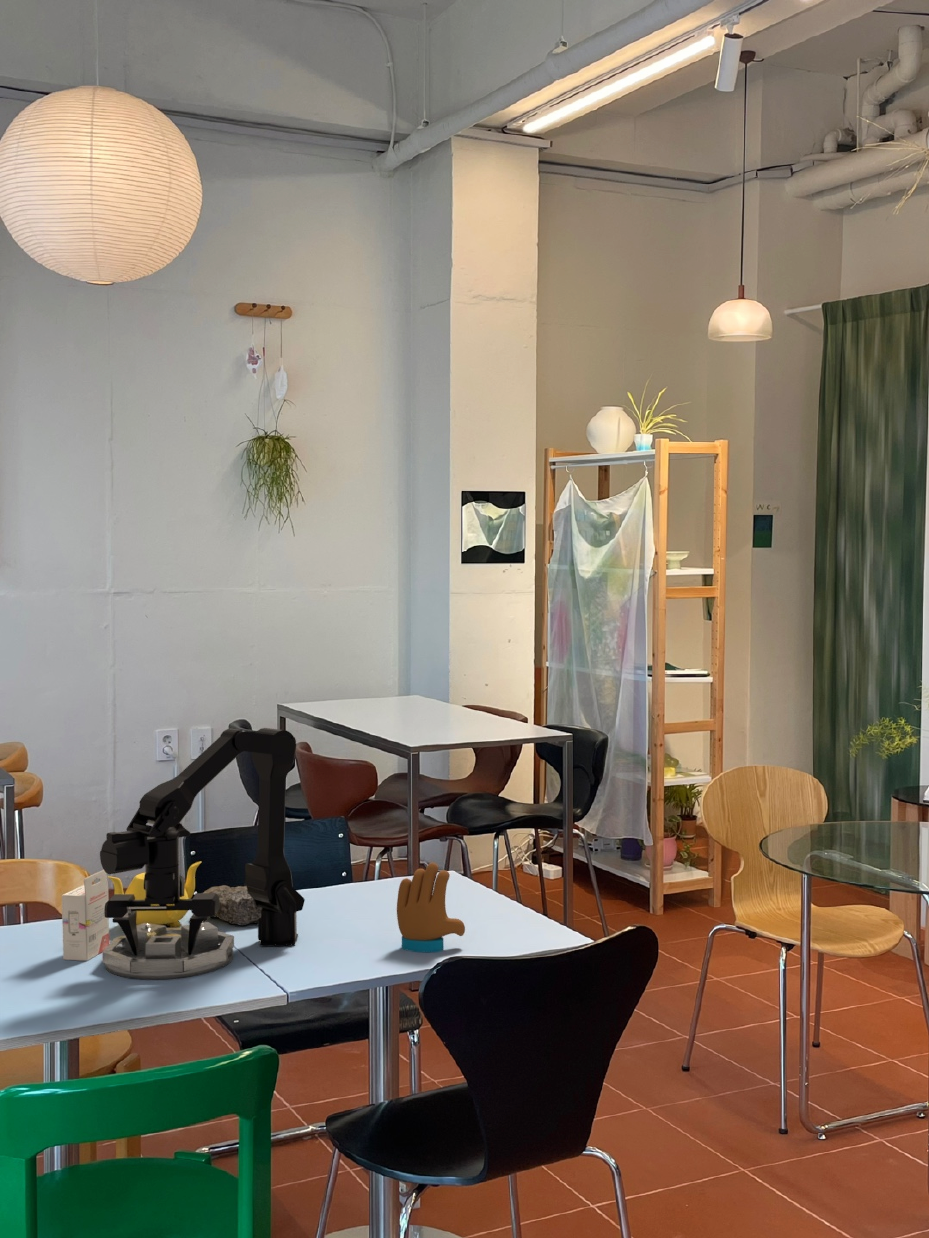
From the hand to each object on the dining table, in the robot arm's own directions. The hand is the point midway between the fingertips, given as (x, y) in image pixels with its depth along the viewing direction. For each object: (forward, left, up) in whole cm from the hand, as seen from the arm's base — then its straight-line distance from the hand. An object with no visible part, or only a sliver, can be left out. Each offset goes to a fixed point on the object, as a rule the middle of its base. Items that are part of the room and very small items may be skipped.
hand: (163, 954), depth 216 cm
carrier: (0, -5, -3) cm, 6 cm away
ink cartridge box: (+16, -10, -3) cm, 19 cm away
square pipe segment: (0, 0, -1) cm, 1 cm away
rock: (-8, -34, -3) cm, 36 cm away
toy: (-46, -11, -3) cm, 48 cm away
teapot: (+7, -29, -3) cm, 30 cm away
